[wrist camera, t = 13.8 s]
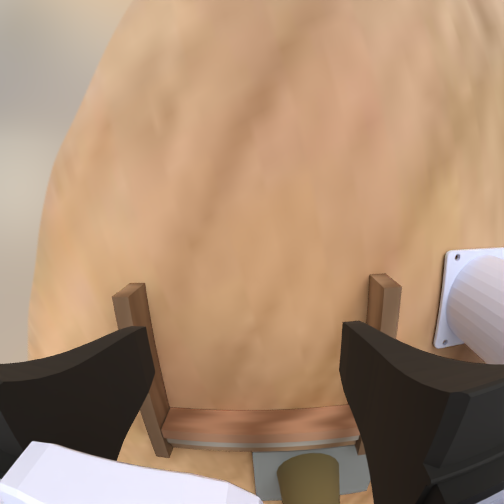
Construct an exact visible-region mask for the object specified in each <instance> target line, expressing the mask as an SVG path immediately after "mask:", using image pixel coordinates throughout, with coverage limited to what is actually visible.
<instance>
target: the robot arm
mask: <svg viewBox="0 0 504 504" xmlns="http://www.w3.org/2000/svg"><path fill="white" fill-rule="evenodd" d="M456 255H458V257H457V259H456V260H455V256H456ZM444 340H445V342H444V343H443V341H444ZM464 343H465V344H466V345H467V346H468V347H469V348H470V349H471V350H473V351H474V352H475V353H476V354H477V355H478V356H479V357H480V358H481V359H482V360H483V361H484V362H485V363H486V364H481V363H471V362H464V361H459V360H454V359H449V358H445V357H441V356H437V355H434V354H431V353H428V352H425V351H422V350H419V349H416V348H414V347H412V346H409V345H407V344H405V343H403V342H400V341H398V340H396V339H394V338H392V337H390V336H388V335H387V334H385V333H383V332H381V331H379V330H377V329H375V328H373V327H372V326H370V325H368V324H366V323H364V322H361V321H351V322H343V327H342V342H341V355H340V367H339V371H340V376H341V381H342V385H343V390H344V393H345V396H346V398H347V401H348V404H349V406H350V409H351V411H352V414H353V417H354V419H355V422H356V425H357V427H358V430H359V432H360V435H361V438H362V442H363V445H364V449H365V454H366V459H367V463H368V468H369V474H370V479H371V485H372V492H373V499H374V504H504V247H500V248H482V249H463V250H450V251H448V252H447V253H446V255H445V264H444V275H443V284H442V292H441V300H440V307H439V314H438V320H437V326H436V332H435V337H434V342H433V345H434V346H435V347H436V348H438V349H439V348H444V347H449V346H454V345H459V344H464ZM154 375H155V368H154V363H153V359H152V354H151V349H150V344H149V339H148V334H147V329H146V326H130V327H126V328H123V329H120V330H118V331H115V332H113V333H111V334H108V335H106V336H104V337H102V338H99V339H97V340H95V341H92V342H90V343H88V344H85V345H82V346H80V347H77V348H75V349H72V350H70V351H67V352H64V353H61V354H57V355H54V356H50V357H46V358H42V359H37V360H31V361H26V362H20V363H10V364H0V504H263V502H262V501H261V499H260V498H259V497H258V496H256V495H255V494H253V493H251V492H248V491H246V490H244V489H242V488H240V487H238V486H236V485H234V484H232V483H230V482H228V481H226V480H220V479H215V478H210V477H206V476H201V475H197V474H192V473H185V472H177V471H169V470H162V469H156V468H149V467H144V466H138V465H133V464H128V463H123V462H119V461H117V458H118V455H119V452H120V450H121V447H122V444H123V441H124V439H125V437H126V435H127V432H128V431H129V429H130V427H131V425H132V423H133V421H134V419H135V417H136V416H137V414H138V412H139V410H140V408H141V406H142V404H143V402H144V401H145V399H146V397H147V395H148V393H149V390H150V387H151V385H152V382H153V378H154Z"/></svg>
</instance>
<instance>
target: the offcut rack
mask: <svg viewBox="0 0 504 504" xmlns="http://www.w3.org/2000/svg"><path fill="white" fill-rule="evenodd" d="M401 290H402V286H400V285H399V284H398V283H397V282H395V281H394V280H393V279H392V278H390V277H389V276H388V275H387V274H371V275H370V280H369V298H368V312H367V324H368V325H370V326H372V327H373V328H375V329H377V330H379V331H381V332H383V333H385V334H387V335H388V336H390V337H392V338H394V339H396V334H397V327H398V319H399V310H400V301H401ZM112 300H113V305H114V310H115V315H116V320H117V324H118V329H119V330H120V329H123V328H126V327H130V326H146V329H147V334H148V339H149V344H150V349H151V354H152V359H153V363H154V368H155V375H154V378H153V382H152V385H151V387H150V390H149V393H148V395H147V397H146V399H145V401H144V402H143V404H142V406H141V408H140V411H141V414H142V417H143V420H144V423H145V426H146V429H147V432H148V435H149V438H150V440H151V443H152V446H153V449H154V451H155V454H156V456H158V457H165V458H170V455H171V452H172V449H173V447H176V448H186V449H198V450H213V451H240V452H267V451H293V450H308V449H320V448H330V447H339V446H346V445H354V444H355V448H356V451H357V455H365V449H364V445H363V442H362V438H361V435H360V432H359V430H358V427H357V425H356V422H355V419H354V417H353V414H352V411H351V409H350V406H349V404H348V405H339V406H329V407H318V408H305V409H287V410H204V409H186V408H173V407H169V404H168V400H167V396H166V391H165V387H164V383H163V379H162V374H161V370H160V365H159V360H158V356H157V351H156V346H155V341H154V335H153V330H152V325H151V319H150V313H149V307H148V301H147V295H146V288H145V283H130V284H128V285H127V286H126V287H124V288H123V289H122V290H120V291H119V292H118V293H116V294H115V295H114V296H112Z"/></svg>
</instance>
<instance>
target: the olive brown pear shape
mask: <svg viewBox="0 0 504 504" xmlns="http://www.w3.org/2000/svg"><path fill="white" fill-rule="evenodd" d="M276 473H277V478H278V483H279V488H280V493H281V498H282V503H283V504H340V484H339V463H338V461H337V460H336V459H335V458H333V457H332V456H330V455H326V454H322V453H308V454H301V455H298V456H295V457H292V458H290V459H288V460H286V461H285V462H283V463H282V464H281V465H280V466H279V467H278V470H277V472H276Z"/></svg>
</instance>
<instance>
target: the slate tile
mask: <svg viewBox="0 0 504 504" xmlns="http://www.w3.org/2000/svg"><path fill="white" fill-rule="evenodd" d="M308 453H322V454H326V455H330V456H332V457H333V458H335V459H336V460H337V461H338V463H339V484H340V495H344V494H350V493H356V492H362V491H367V488H368V485H369V482H370V480H371V479H370V474H369V468H368V463H367V459H366V454H365V455H357V451H356V448H355V444H354V445H346V446H339V447H330V448H320V449H308V450H293V451H267V452H252V454H253V465H254V476H255V487H256V496H258V497H259V498H260V499H261V501H266V500H282V498H281V493H280V488H279V483H278V478H277V473H276V472H277V470H278V467H279V466H280V465H281V464H282V463H283V462H285V461H286V460H288V459H290V458H292V457H295V456H298V455H301V454H308Z"/></svg>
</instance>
